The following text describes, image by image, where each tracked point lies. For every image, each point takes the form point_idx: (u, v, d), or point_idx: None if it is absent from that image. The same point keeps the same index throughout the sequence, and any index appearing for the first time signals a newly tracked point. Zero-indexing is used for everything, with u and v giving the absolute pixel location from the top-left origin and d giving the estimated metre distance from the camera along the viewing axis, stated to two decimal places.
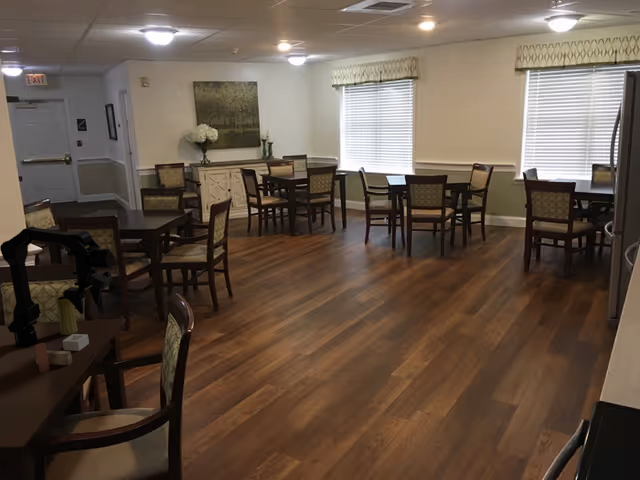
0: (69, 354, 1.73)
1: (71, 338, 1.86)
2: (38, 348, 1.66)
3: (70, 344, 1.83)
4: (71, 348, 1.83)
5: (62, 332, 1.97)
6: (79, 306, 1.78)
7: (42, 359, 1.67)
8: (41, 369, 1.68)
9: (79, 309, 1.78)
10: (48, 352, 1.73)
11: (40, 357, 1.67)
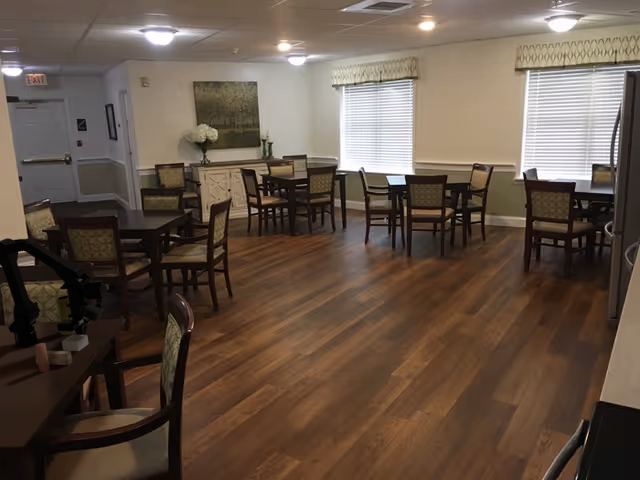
0: (69, 354, 1.73)
1: (70, 338, 1.86)
2: (38, 348, 1.66)
3: (69, 344, 1.82)
4: (70, 348, 1.83)
5: (62, 332, 1.97)
6: (80, 332, 1.88)
7: (42, 359, 1.67)
8: (41, 369, 1.68)
9: None
10: (48, 352, 1.73)
11: (40, 357, 1.67)
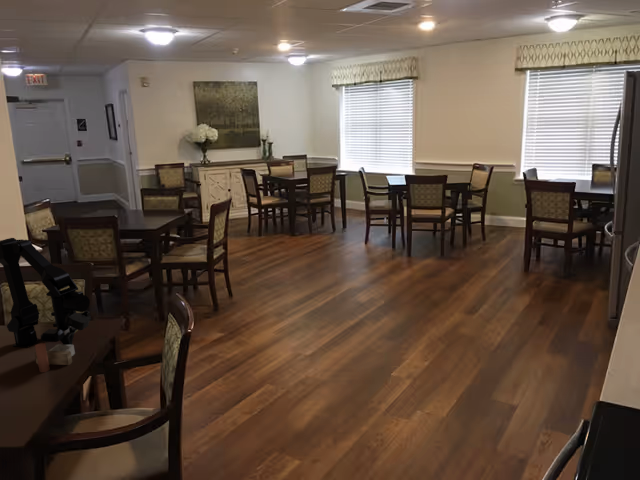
0: (69, 354, 1.73)
1: (56, 348, 1.78)
2: (38, 348, 1.66)
3: None
4: None
5: None
6: (66, 342, 1.80)
7: (42, 359, 1.67)
8: (41, 369, 1.68)
9: None
10: (48, 352, 1.73)
11: (40, 357, 1.67)
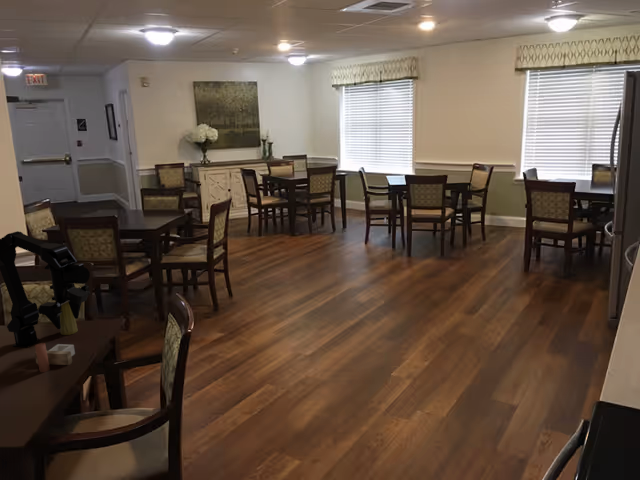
0: (69, 354, 1.73)
1: (56, 348, 1.78)
2: (38, 348, 1.66)
3: None
4: None
5: (62, 332, 1.97)
6: (56, 321, 1.75)
7: (42, 359, 1.67)
8: (41, 369, 1.68)
9: (56, 324, 1.76)
10: (48, 352, 1.73)
11: (40, 357, 1.67)
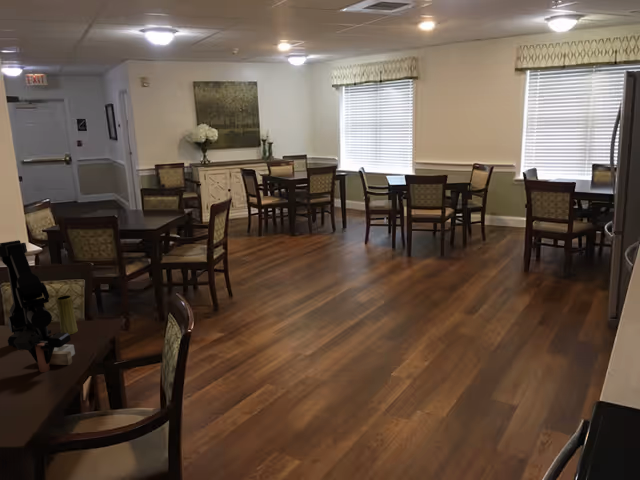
0: (69, 354, 1.73)
1: (56, 348, 1.78)
2: (38, 348, 1.66)
3: None
4: None
5: (62, 332, 1.97)
6: None
7: (42, 359, 1.67)
8: (41, 369, 1.68)
9: None
10: None
11: (40, 357, 1.67)
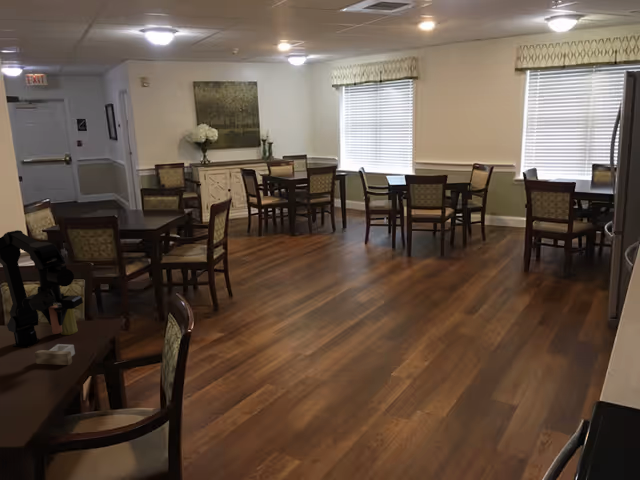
0: (69, 354, 1.73)
1: (56, 348, 1.78)
2: (51, 310, 1.72)
3: None
4: None
5: (62, 332, 1.97)
6: None
7: (55, 321, 1.73)
8: (54, 330, 1.74)
9: None
10: (48, 352, 1.73)
11: (53, 319, 1.73)
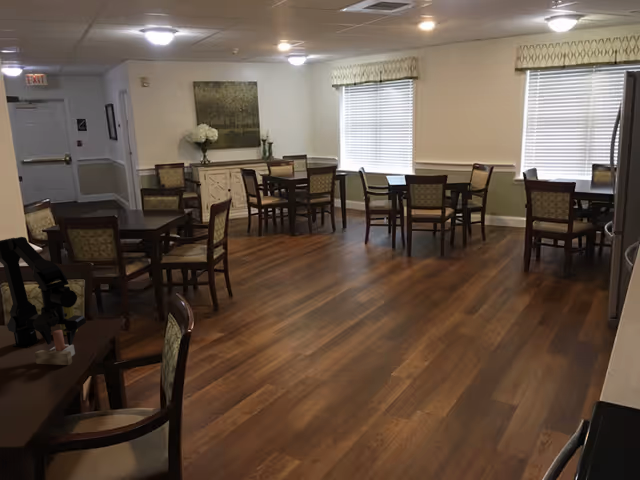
0: (69, 354, 1.73)
1: None
2: (55, 335, 1.74)
3: None
4: None
5: None
6: None
7: (59, 345, 1.76)
8: None
9: None
10: (48, 352, 1.73)
11: (57, 343, 1.75)
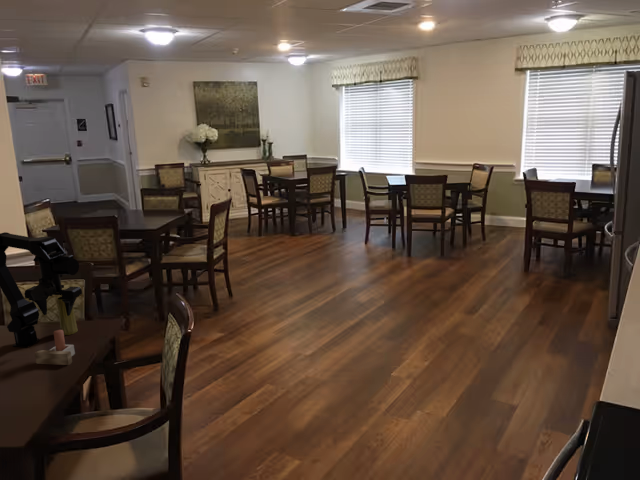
0: (69, 354, 1.73)
1: None
2: (56, 334, 1.75)
3: None
4: None
5: None
6: None
7: (60, 345, 1.76)
8: None
9: None
10: (48, 352, 1.73)
11: (58, 343, 1.75)
